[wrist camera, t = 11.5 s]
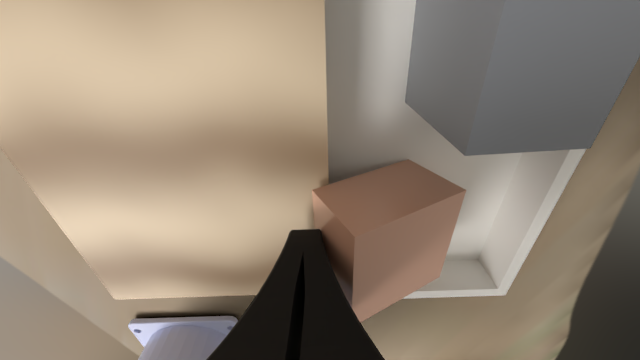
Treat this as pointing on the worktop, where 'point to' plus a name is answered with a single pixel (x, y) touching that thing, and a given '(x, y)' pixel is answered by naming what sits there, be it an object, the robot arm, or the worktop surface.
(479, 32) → the grey block
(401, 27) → the tray
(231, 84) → the board
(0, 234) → the worktop surface
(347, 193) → the salmon pink block
